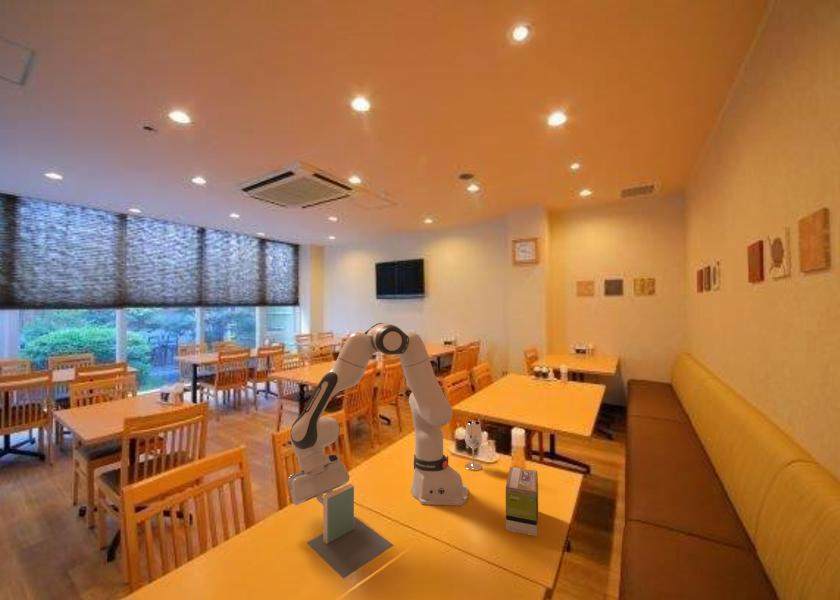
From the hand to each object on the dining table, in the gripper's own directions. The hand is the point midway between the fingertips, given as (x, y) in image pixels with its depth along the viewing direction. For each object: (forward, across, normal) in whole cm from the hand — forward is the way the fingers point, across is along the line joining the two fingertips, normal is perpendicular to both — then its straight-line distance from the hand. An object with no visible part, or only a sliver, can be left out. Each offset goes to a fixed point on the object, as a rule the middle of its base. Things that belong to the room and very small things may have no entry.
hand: (329, 506), depth 116 cm
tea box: (+36, +49, -26) cm, 66 cm away
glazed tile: (+9, 0, +1) cm, 9 cm away
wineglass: (+11, +69, -1) cm, 70 cm away
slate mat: (+13, 0, -3) cm, 14 cm away
